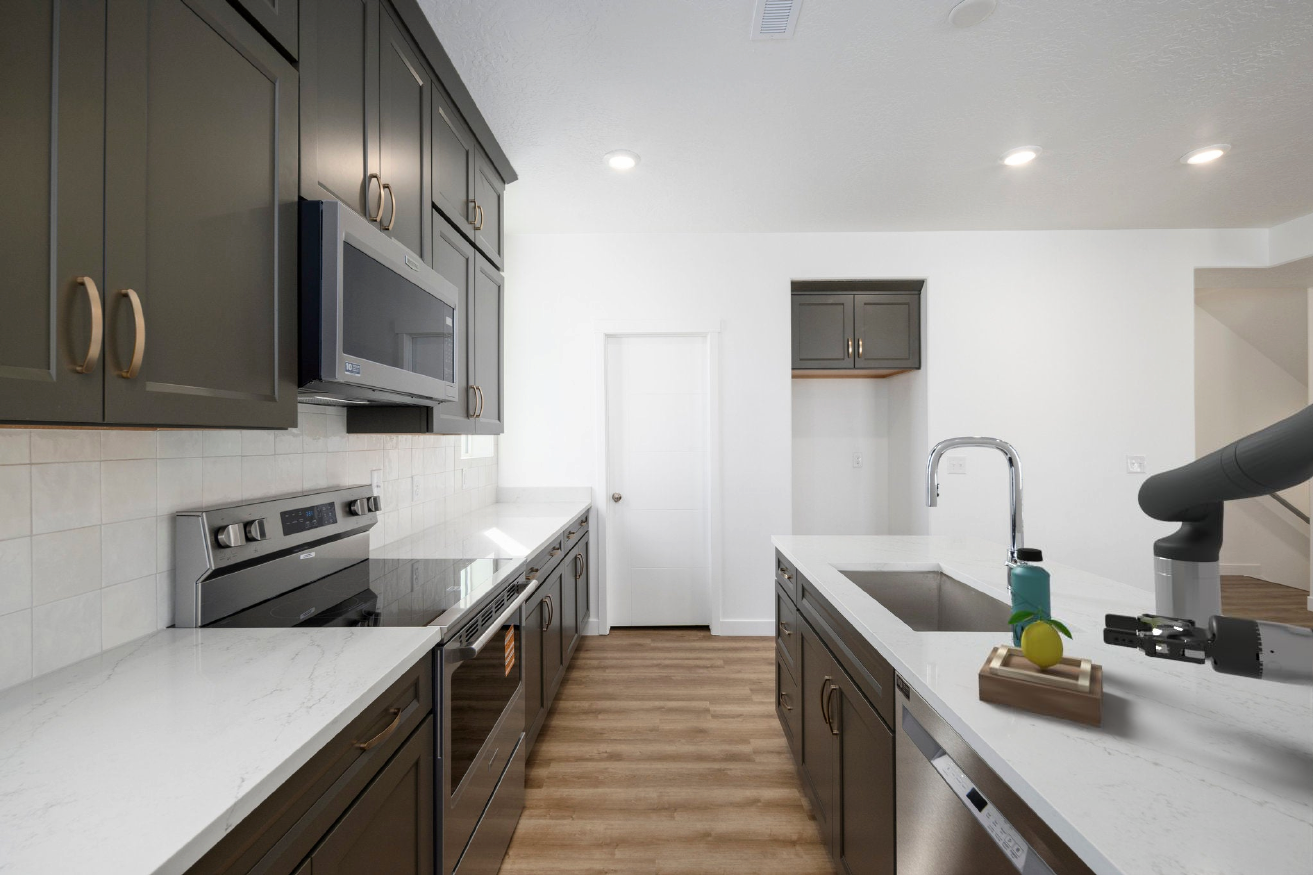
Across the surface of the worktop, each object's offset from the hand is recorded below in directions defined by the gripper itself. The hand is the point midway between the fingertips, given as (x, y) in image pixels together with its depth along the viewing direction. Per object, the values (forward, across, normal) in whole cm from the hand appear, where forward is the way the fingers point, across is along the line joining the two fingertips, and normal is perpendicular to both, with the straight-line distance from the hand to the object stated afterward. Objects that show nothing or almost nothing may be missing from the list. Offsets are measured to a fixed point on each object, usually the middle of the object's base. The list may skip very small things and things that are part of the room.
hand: (1104, 627), depth 85 cm
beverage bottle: (+11, -19, +12) cm, 25 cm away
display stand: (+8, 0, +12) cm, 14 cm away
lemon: (+8, 0, +8) cm, 11 cm away
